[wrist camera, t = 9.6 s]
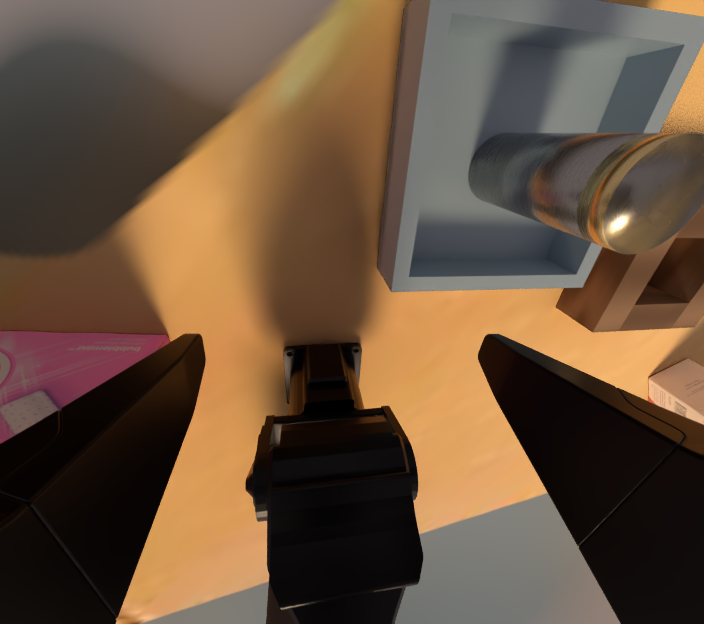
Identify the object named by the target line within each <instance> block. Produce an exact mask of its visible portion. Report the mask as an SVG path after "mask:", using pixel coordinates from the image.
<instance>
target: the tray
mask: <svg viewBox="0 0 704 624" xmlns="http://www.w3.org/2000/svg"><path fill="white" fill-rule="evenodd" d="M703 43H704V17H702V16H696V15H689V14H683V13H676V12H670V11H664V10H657V9H651V8H644V7H638V6H631V5H625V4H619V3H612V2H606V1H599V0H412V1H411V2H410V3H409V4H408V5H407V6H406V8H405V9H404V11H403V20H402V30H401V40H400V50H399V59H398V69H397V79H396V88H395V98H394V108H393V118H392V127H391V137H390V147H389V156H388V166H387V176H386V186H385V195H384V205H383V215H382V225H381V234H380V244H379V254H378V263H377V268H378V270H379V272H380V273H381V275H382V277H383V279H384V280H385V282H386V284H387V285H388V287H389V289H390V291H391V292H409V291H453V290H497V289H541V288H583V285H584V283H585V281H586V279H587V277H588V275H589V273H590V271H591V269H592V267H593V265H594V263H595V261H596V259H597V257H598V255H599V253H600V251H601V249H602V246H600V245H597V244H594V243H592V242H590V241H588V240H585V239H583V238H580V237H577V236H575V235H572V234H569V233H567V232H564V231H561V230H559V229H556V228H553V227H551V226H548V225H545V224H543V223H540V222H537V221H535V220H532V219H529V218H527V217H524V216H521V215H519V214H516V213H513V212H511V211H508V210H505V209H503V208H500V207H497V206H495V205H492V204H489V203H487V202H484V201H482V200H479V199H478V198H477V197H476V196H474V194H473V193H472V191H471V189H470V186H469V182H468V172H469V167H470V163H471V161H472V158H473V156H474V155H475V153H476V151H477V150H478V149H479V147H480V146H481V145H482V144H483V143H484V142H485V141H486V140H488V139H489V138H491V137H492V136H495V135H497V134H500V133H659V132H660V130H661V128H662V126H663V124H664V122H665V120H666V118H667V116H668V114H669V112H670V110H671V108H672V106H673V103H674V101H675V99H676V97H677V95H678V93H679V91H680V89H681V87H682V85H683V83H684V81H685V79H686V77H687V75H688V73H689V71H690V69H691V67H692V65H693V63H694V61H695V59H696V57H697V55H698V53H699V51H700V49H701V47H702V45H703Z"/></svg>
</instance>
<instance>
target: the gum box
mask: <svg viewBox="0 0 704 624" xmlns="http://www.w3.org/2000/svg"><path fill="white" fill-rule="evenodd" d="M168 343H170V342H169V337H168V336H167V335H145V334H114V333H54V332H36V331H0V443H2V442H4V441H6V440H7V439H9V438H11V437H13V436H14V435H16V434H18V433H20V432H21V431H23V430H25V429H26V428H28V427H30V426H32V425H33V424H35V423H37V422H38V421H40V420H42V419H43V418H45V417H47V416H48V415H50V414H52V413H53V412H55V411H57V410H60V411H61V408H62V407H64V406H65V405H67V404H69V403H70V402H72V401H74V400H75V399H77V398H79V397H80V396H82V395H83V394H85V393H87V392H88V391H90V390H92V389H93V388H95V387H97V386H98V385H100V384H102V383H103V382H105V381H107V380H108V379H110V378H112V377H113V376H115V375H117V374H118V373H120V372H122V371H123V370H125V369H127V368H128V367H130V366H132V365H133V364H135V363H137V362H138V361H140V360H142V359H143V358H145V357H147V356H148V355H150V354H152V353H153V352H155V351H157V350H158V349H160V348H162V347H163V346H165V345H167V344H168Z"/></svg>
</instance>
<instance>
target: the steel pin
mask: <svg viewBox="0 0 704 624" xmlns="http://www.w3.org/2000/svg"><path fill="white" fill-rule="evenodd" d="M468 182H469V186H470V189H471V191H472V193H473V194H474V196H476V197H477V198H478V199H479V200H482V201H484V202H487V203H489V204H492V205H495V206H497V207H500V208H503V209H505V210H508V211H511V212H513V213H516V214H519V215H521V216H524V217H527V218H529V219H532V220H535V221H537V222H540V223H543V224H545V225H548V226H551V227H553V228H556V229H559V230H561V231H564V232H567V233H569V234H572V235H575V236H577V237H580V238H583V239H585V240H588V241H590V242H592V243H594V244H597V245H600V246H602V247H605V248H608V249H610V250H613V251H616V252H618V253H622V254H637V253H642V252H645V251H648V250H651V249H653V248H655V247H657V246H659V245H661V244H662V243H664V242H666V241H667V240H669V239H670V238H671V237H673V236H674V235H675V234H677V233H678V232H679V231H680V230H681V229H682V228H683V227H684V226H685V225H686V224H687V223H688V222H689V221H690V220H691V219H692V218H693V217H694V216H695V214H696V213H697V212H698V211H699V209H700V208H701V207H702V205H703V204H704V134H700V133H500V134H497V135H495V136H492V137H491V138H489V139H488V140H486V141H485V142H484V143H483V144H482V145H481V146H480V147H479V149H478V150H477V151H476V153H475V155H474V156H473V158H472V161H471V163H470V167H469V172H468Z"/></svg>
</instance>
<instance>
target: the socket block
mask: <svg viewBox="0 0 704 624" xmlns="http://www.w3.org/2000/svg"><path fill="white" fill-rule="evenodd" d="M556 308H558V309H559V310H561V311H562V312H564V313H565V314H566V315H568V316H569V317H571V318H572V319H574V320H575V321H577V322H578V323H580V324H581V325H583V326H584V327H586V328H587V329H589V330H590V331H591V332H610V331H629V330H649V329H669V328H688V327H695V326H696V324H697V323H698V322H699V321H700V319H701V318H702V317H703V315H704V204H703V205H702V207H701V208H700V209H699V211H698V212H697V213H696V214H695V216H694V217H693V218H692V219H691V220H690V221H689V222H688V223H687V224H686V225H685V226H684V227H683V228H682V229H681V230H680V231H679V232H678V233H677V234H675V235H674V236H673V237H671V238H670V239H669V240H667V241H666V242H664V243H662V244H661V245H659V246H657V247H655V248H653V249H651V250H648V251H645V252H642V253H637V254H622V253H618V252H616V251H613V250H610V249H608V248H605V247H602V249H601V251H600V253H599V255H598V257H597V259H596V261H595V263H594V265H593V267H592V269H591V271H590V273H589V275H588V277H587V279H586V281H585V283H584V285H583V288H564V291H563V293H562V295H561V297H560V299H559V301H558V304H557V306H556Z"/></svg>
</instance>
